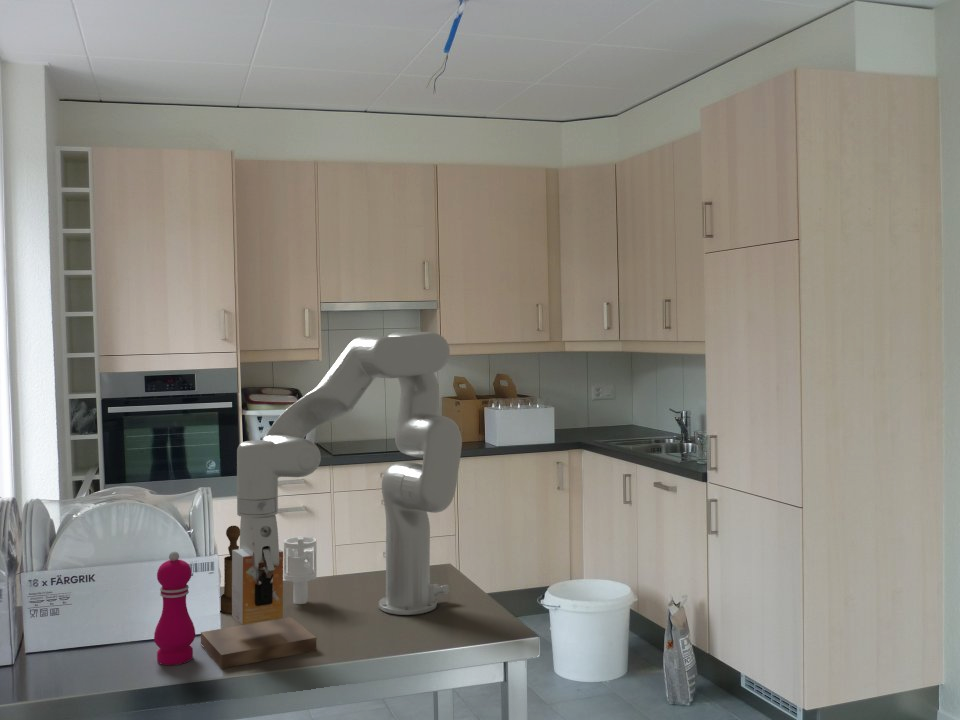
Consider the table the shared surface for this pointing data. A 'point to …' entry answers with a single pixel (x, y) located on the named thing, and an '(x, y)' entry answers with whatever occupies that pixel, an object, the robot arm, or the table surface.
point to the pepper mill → (174, 613)
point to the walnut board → (257, 642)
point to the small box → (245, 590)
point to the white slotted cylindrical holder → (299, 565)
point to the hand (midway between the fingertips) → (257, 598)
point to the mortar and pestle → (229, 569)
